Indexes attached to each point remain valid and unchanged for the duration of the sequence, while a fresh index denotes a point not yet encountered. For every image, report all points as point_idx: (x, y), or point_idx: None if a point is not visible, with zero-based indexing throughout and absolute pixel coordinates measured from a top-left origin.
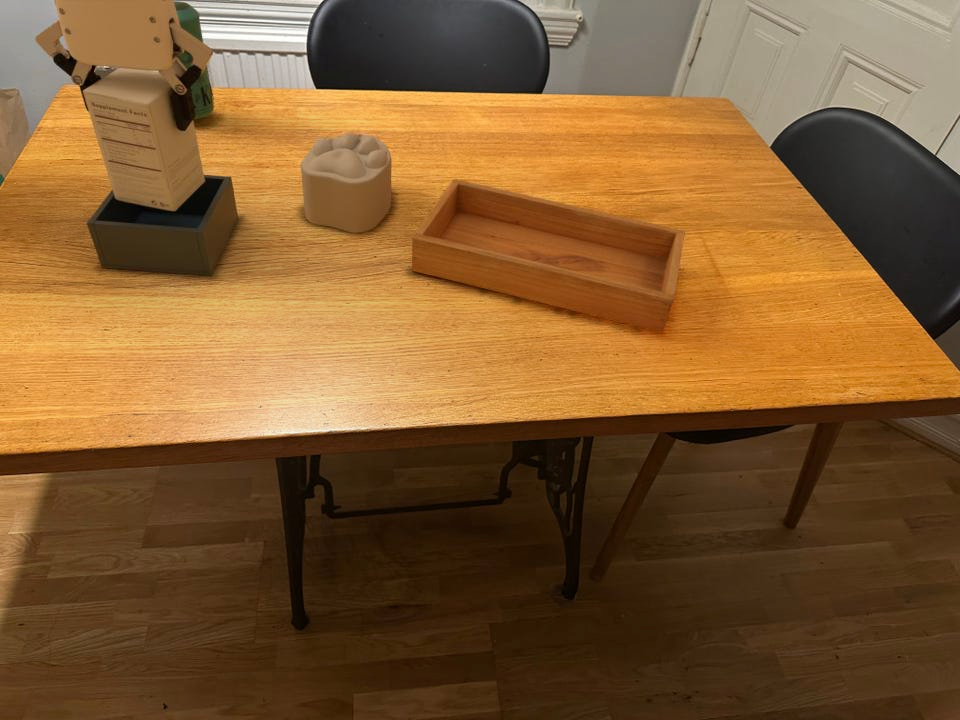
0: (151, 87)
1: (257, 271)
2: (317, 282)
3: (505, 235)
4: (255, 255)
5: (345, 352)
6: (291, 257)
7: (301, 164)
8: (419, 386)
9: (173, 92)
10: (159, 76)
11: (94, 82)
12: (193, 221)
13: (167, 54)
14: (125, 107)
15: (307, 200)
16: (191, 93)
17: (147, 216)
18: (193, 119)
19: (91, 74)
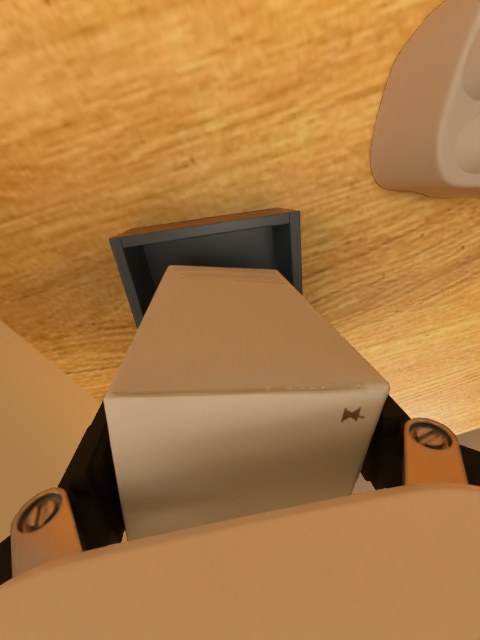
0: (312, 493)
1: (331, 313)
2: (396, 313)
3: None
4: (322, 285)
5: (422, 391)
6: (364, 277)
7: (439, 151)
8: (475, 405)
9: (378, 478)
10: (307, 427)
11: (106, 506)
12: (224, 243)
13: None
14: None
15: (402, 183)
16: (405, 415)
17: (156, 250)
18: None
19: (91, 536)
